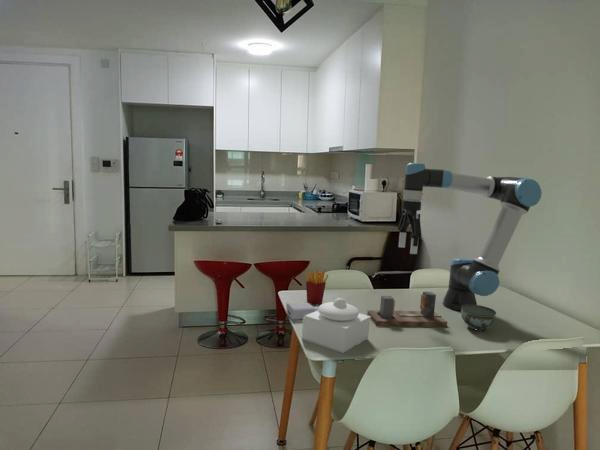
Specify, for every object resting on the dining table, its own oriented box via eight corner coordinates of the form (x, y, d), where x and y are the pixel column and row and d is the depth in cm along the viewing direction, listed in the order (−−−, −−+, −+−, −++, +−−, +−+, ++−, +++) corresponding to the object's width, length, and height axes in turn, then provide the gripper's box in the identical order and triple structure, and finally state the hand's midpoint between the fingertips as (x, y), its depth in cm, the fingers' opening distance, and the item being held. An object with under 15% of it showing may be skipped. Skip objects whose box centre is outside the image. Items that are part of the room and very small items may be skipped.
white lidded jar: (301, 339, 166) (304, 296, 164) (329, 326, 180) (332, 287, 178) (343, 353, 156) (346, 308, 154) (368, 339, 170) (372, 297, 168)
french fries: (315, 306, 204) (317, 273, 202) (301, 301, 210) (303, 269, 207) (327, 302, 211) (330, 270, 209) (313, 298, 216) (315, 267, 214)
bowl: (454, 321, 196) (456, 303, 195) (486, 323, 196) (488, 305, 195) (464, 333, 182) (467, 313, 181) (499, 335, 182) (501, 316, 181)
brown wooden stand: (433, 315, 201) (436, 289, 200) (446, 326, 189) (450, 298, 187) (367, 314, 197) (369, 287, 195) (376, 325, 184) (378, 296, 183)
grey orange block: (382, 322, 189) (384, 298, 188) (379, 318, 193) (381, 295, 192) (393, 322, 190) (395, 298, 189) (390, 318, 194) (392, 295, 193)
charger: (327, 318, 190) (292, 320, 185) (319, 311, 198) (285, 313, 193) (328, 307, 189) (293, 309, 184) (319, 300, 198) (286, 302, 193)
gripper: (433, 203, 180) (427, 257, 183) (409, 198, 205) (405, 245, 208) (415, 203, 179) (409, 256, 182) (393, 197, 203) (389, 244, 206)
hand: (407, 250), depth 195 cm, fingers open, 13 cm apart
